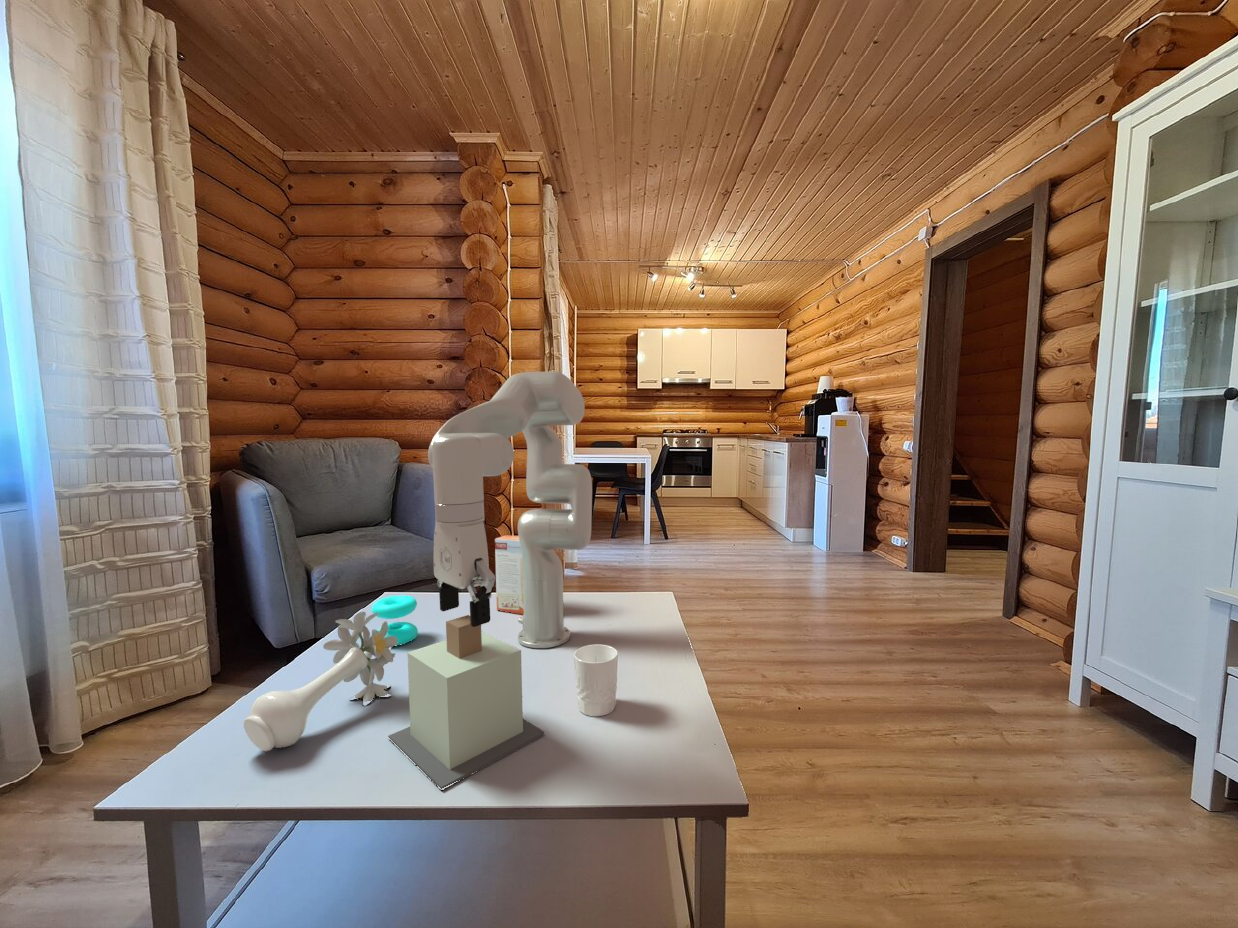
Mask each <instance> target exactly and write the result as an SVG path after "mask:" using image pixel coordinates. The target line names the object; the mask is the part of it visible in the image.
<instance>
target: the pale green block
mask: <svg viewBox="0 0 1238 928" xmlns="http://www.w3.org/2000/svg"><path fill="white" fill-rule="evenodd" d="M445 630H446V631H445V633H446V635H445V637H446V639H445V640H442V641H438V642H436V643H433V644H430V645H427V646H424V647H420V648H418V649H414V650H412V651H411V650H410V651H407V671H408V672H407V673H408V675H407V676H408V698H409V701H408V702H409V703H408V704H409V727H410V732H411V735H412V736H413V737H414V738H415V739H416V740H417V741H418V742H419V743H421V744H422V745H423V746H424V747H425V748H426V749H427V750H428V751H430V752H431V753H432V754H433V755H434V756H435V757H436V758H437V759H438V760H440V761H441V762H442V763H443V764H444V765H445V766H446V767H447V768H449V769H452V768H454V767H456V766H458V765H460V764H462V763H464V762H466V761H468V760H469V759H471V758H473V757H475V756H477V755H479V754H481V753H483V752H485V751H487V750H489V749H491V748H492V747H494V746H496V745H498V744H500V743H502V742H504V741H506V740H508V739H510V738H512V737H514V736H516V735H517V734H519V733H521V732H523V719H524V717H523V713H524V712H523V684H522V683H523V680H522V679H523V677H522V676H523V675H522V673H523V672H522V650H521V649H520V648H518V647H516V646H514V645H511V644H509V643H508V642H505V641H503V640H501V639H499V638H497V637H494V636H492V635H491V634H488V633H486V632H484V631H482V625H479V626H476V627H473V626H471V622H470V614H467V615H463V616H459V617H458V618H454V619H450V620H447V621H445Z"/></svg>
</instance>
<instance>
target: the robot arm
mask: <svg viewBox="0 0 1238 928" xmlns="http://www.w3.org/2000/svg"><path fill="white" fill-rule="evenodd" d="M585 409H586V408H585V400H584V397H583V395H582V393H581V391H580V390H579V389H578V387H577V386H576V385H575V384H574V383H573V381H572V380H571V379H570V378H569V377H568V376H567V375H565V374H564V373H562V372H559V371H525V372H519V373H514V374H513V375H511V376H510V377H509V378H507V379H506V380H505V382H504V383H503V384H502V385H501V387H500V388H498V390H497V391H496V393H495V394H493V396H492V398H491V399H490V400H488V401H486V402H483V403H481V404H478V405H476V406H474V407H472V408H469V409H468V410H465V411H463V412H459V413H458V414H457V415H454V416H452V417H451V418H450V419H448V420H447V421H446V422H445V423H444V424H443V425H442V426H441V428H439V429H438V431H436V433H435V434H434V435H433V437H432V440H431V441H430V443H429V446H428V451H427V459H428V463H429V465H430V468H431V469H432V473H433V476H432V477H433V479H432V480H433V495H434V499H433V500H434V515H435V517H434V518H435V520H434V521H435V526H434V533H433V575H434V577H435V578H436V579H437V583H436V584H437V586H438V589H439V590H438V593H439V594H438V595H439V610H440V611H441V612H446V611H449V610H450V611H451V610H453V609H457V608H459V606H460V599H459V598H460V596H459V590H463V589H466V588H467V591H468V593H469V595H470V597H471V601H469V616H470V622H471V626H473V627H476V626H479V625H481V626H482V625H485V624H487V623H489V622H490V621H491V605H490V604H491V602H490V600H491V598H492V593H493V591H494V586H495V583H496V574H495V573H493V571H492V570H491V569H490V566H489V565H490V564H489V563H490V562H489V551H488V542H487V535H486V534H487V533H486V528H485V523H484V521H485V500H484V499H485V498H484V497H485V496H484V477H497V476H501V475H503V474H504V473H506V472H507V471H508V470H509V469H510V468H511V466H512V465H513V461H514V456H515V453H514V447H513V444H512V443H511V441H510V439H509V438H511V437H513V436H516V435H518V434H520V433H521V432H522V434H523V436H524V438H525V441H526V447H527V448H526V449H527V453H526V476H525V477H526V478H525V479H526V480H525V482H526V483H525V485H526V486H525V487H526V488H525V490H526V495H527V498H528V499H529V500H530V501H531V502H534V503H539V504H566V505H570V507H571V509H568V508H567V509H562V508H561V509H559V508H558V509H557V508H533V509H529V510H527V511H525V512H523V513H522V514H521V515H520V516H519V518H518V521H517V533H518V534H517V536H519V540H520V545H521V551H522V561H523V597H524V614H523V615H522V617H519V618H518V620H517V622H518V623H519V624H521V625H522V630H520V632H519V633H518V634H517V642H518V643H519V644H520V645H522V646H524V647H526V648H532V649H549V648H553V647H558V646H560V645H563V644H566V643H567V642H568V641H569V640H570V638H571V630H570V629H569V628H568V627H566V626H565V625H564V624H565V623H564V621H565V620H564V618H565V616H564V615H565V614H564V574H563V573H564V572H563V571H564V570H563V564H562V561H561V560H560V557H559V556H558V554H557V553H556V552H555V550H563V551H564V550H565V551H566V550H568V551H569V550H572V551H573V550H576V551H577V550H584V549H586V548H587V547H588V545H589V544H590V541H591V536H592V517H593V515H592V513H593V511H592V510H593V483H592V482H593V480H592V475H591V473H590V470H589V469H588V468H587V466H585V465H582V464H578V463H566V464H565V463H563V444H562V441H561V439H560V437H559V436H558V434H557V433H556V432H555V431H554V430H553V429H552V428H551V426H554V427H555V426H575V425H577V424H579V423H581V422H582V420H583V419H584V416H585V412H586V411H585ZM479 586H480V587H479ZM476 587H479V588H478V590H476Z"/></svg>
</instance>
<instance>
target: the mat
mask: <svg viewBox="0 0 1238 928" xmlns="http://www.w3.org/2000/svg"><path fill="white" fill-rule="evenodd" d="M544 736H545V731H544V730H542V729H541V728H539V727H537V726H535V725H534V724H533V723H531V722H530V721H528V720H526V719H525V718H523V732H521V733H519V734H517V735H516V736H514V737H512V738H510V739H508V740H506V741H504V742H502V743H500V744H498V745H496V746H494V747H492V748H491V749H489V750H487V751H485V752H483V753H481V754H479V755H477V756H475V757H473V758H471V759H469V760H468V761H466V762H464V763H462V764H460V765H458V766H456V767H454V768H452V769H449V768H447V767H446V766H445V765H444V764H443V763H442V762H441V761H440V760H438V759H437V758H436V757H435V756H434V755H433V754H432V753H431V752H430V751H428V750H427V749H426V748H425V747H424V746H423V745H422V744H421V743H419V742H418V741H417V740H416V739H415V738H414V737H413V736H412V735H411V732H410V726H407V727H406V728H403V729H401V730H399V731H396V732H394V733H391V734H389V735H388V736H387V738H388V737H389V738H390V739H391V740H392V741H393V742H394V743H395V744H396V745H397V746H398V747H399V748H400V749H401V750H402V751H403V752H404V753H405V754H406V755H407V756H408V757H409V758H410V759H411V760H412V761H413V762H414V763H415V764H416V765H417V766H418V767H419V768H420V769H421V770H422V771H423V772H424V773H425V774H426V775H427V776H428V777H429V778H430V779H431V780H432V781H433V782H434V783H435V784H436V785H438V786H439V787H440V788H441V789H442V788H444V787H446V786H448V785H450V784H452V783H454V782H456V781H459V780H461V779H463V778H465V777H467V776H469V775H471V774H472V773H474V772H476V771H478V772H479V770H480V771H482V770H483V769H485V768H487V767H489V766H490V765H492V764H495V763H496V762H499V761H500V760H502V759H503V758H505V757H507V756H509V755H511V754H513V753H514V752H517V751H519V750H520V749H523V748H525V746H527V745H530V744H531V743H533V742H535V741H537V740H539V739H541V738H542V737H544ZM481 769H482V770H481ZM476 773H477V772H476ZM474 774H475V773H474ZM472 775H473V774H472ZM472 775H471V776H472ZM469 777H470V776H469ZM467 778H468V777H467ZM465 779H466V778H465ZM463 780H464V779H463ZM461 781H462V780H461Z"/></svg>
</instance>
